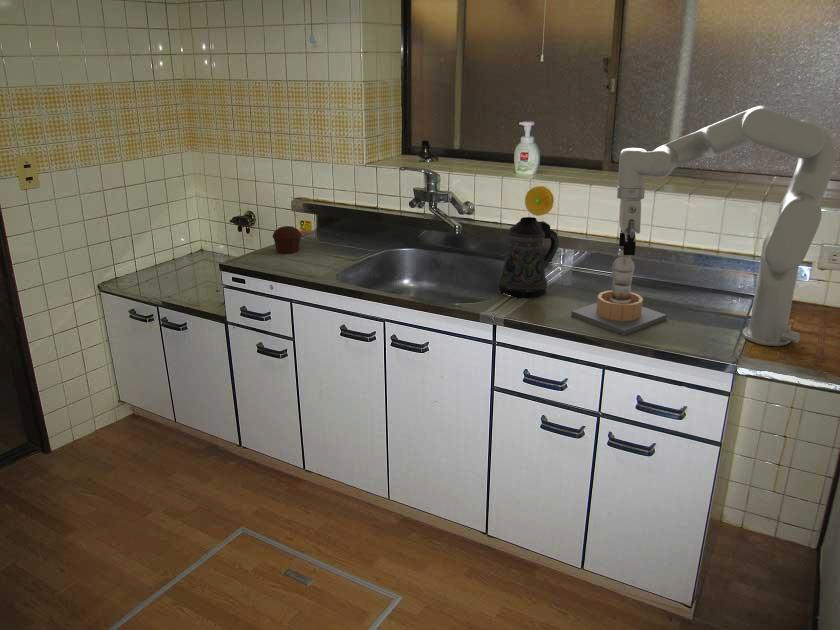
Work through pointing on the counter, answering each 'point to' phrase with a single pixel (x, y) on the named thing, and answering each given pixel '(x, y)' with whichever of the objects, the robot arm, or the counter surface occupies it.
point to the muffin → (287, 240)
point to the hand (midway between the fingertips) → (626, 250)
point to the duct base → (619, 325)
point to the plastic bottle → (622, 279)
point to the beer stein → (527, 259)
